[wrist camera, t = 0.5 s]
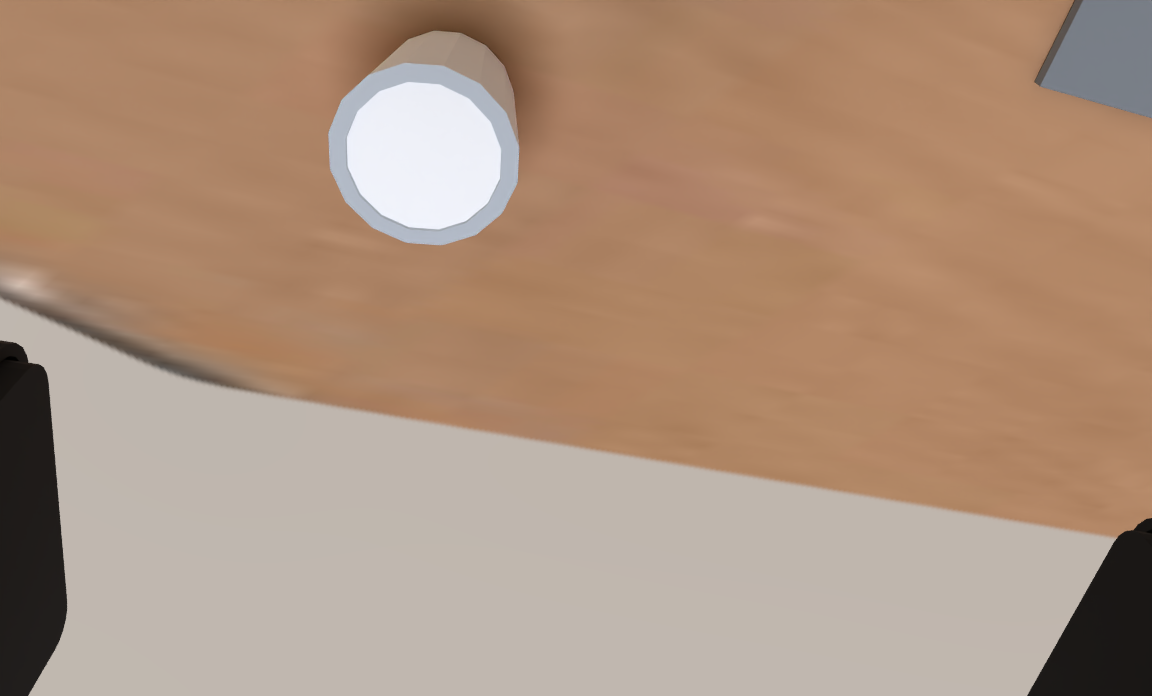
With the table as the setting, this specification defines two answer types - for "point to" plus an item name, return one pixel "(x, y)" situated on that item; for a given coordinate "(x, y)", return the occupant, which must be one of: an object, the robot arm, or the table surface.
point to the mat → (1104, 55)
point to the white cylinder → (428, 141)
